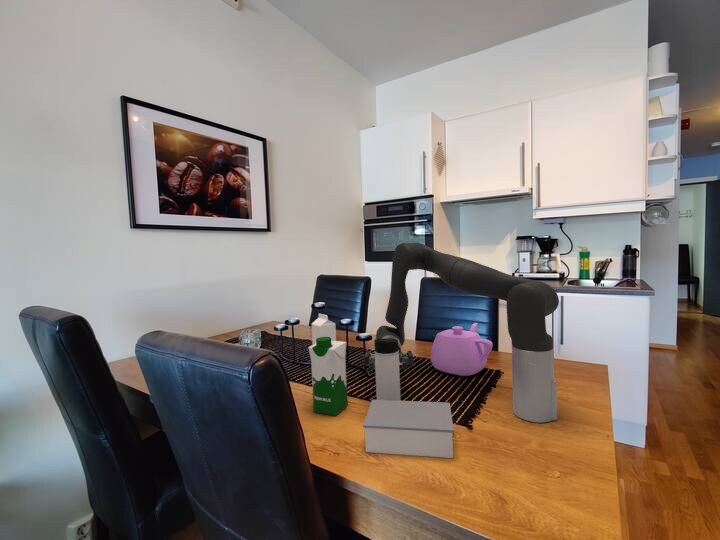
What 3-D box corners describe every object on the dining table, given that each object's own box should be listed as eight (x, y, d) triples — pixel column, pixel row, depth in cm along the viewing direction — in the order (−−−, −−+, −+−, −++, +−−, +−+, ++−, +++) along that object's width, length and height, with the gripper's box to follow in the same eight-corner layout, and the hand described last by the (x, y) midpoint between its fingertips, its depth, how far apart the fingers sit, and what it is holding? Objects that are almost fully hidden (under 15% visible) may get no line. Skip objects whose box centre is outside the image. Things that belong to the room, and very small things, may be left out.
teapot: (481, 385, 105) (479, 337, 105) (424, 370, 121) (422, 328, 120) (511, 366, 121) (510, 323, 120) (457, 354, 136) (456, 317, 136)
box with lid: (450, 427, 82) (449, 402, 82) (454, 459, 70) (453, 430, 69) (373, 423, 85) (372, 399, 85) (364, 452, 73) (362, 425, 73)
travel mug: (373, 417, 89) (370, 340, 87) (381, 406, 95) (378, 334, 93) (396, 420, 86) (393, 342, 85) (403, 409, 92) (400, 335, 91)
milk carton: (308, 413, 92) (304, 339, 91) (325, 399, 100) (322, 331, 99) (337, 418, 88) (333, 342, 87) (352, 404, 97) (349, 333, 96)
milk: (323, 382, 113) (319, 316, 112) (314, 377, 118) (310, 314, 117) (338, 378, 117) (335, 314, 116) (329, 373, 122) (325, 311, 120)
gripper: (366, 338, 111) (361, 353, 95) (411, 337, 109) (413, 352, 93) (367, 361, 111) (362, 380, 95) (412, 360, 110) (414, 379, 93)
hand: (388, 366), depth 94 cm, fingers open, 8 cm apart
